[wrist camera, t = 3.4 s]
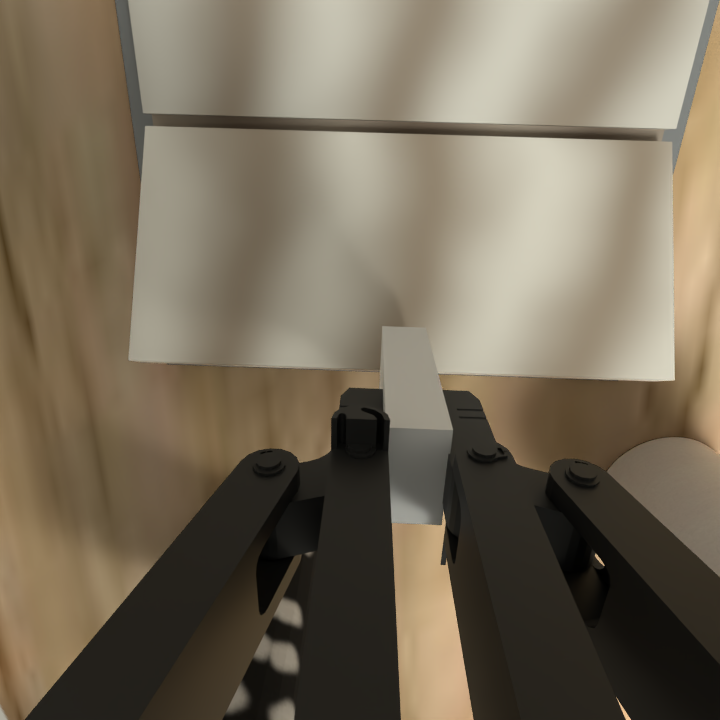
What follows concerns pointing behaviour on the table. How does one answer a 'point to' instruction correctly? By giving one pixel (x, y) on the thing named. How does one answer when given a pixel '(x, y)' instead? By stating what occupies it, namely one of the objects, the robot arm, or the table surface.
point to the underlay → (146, 119)
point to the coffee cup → (677, 490)
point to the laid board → (419, 65)
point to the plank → (405, 251)
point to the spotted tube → (278, 655)
